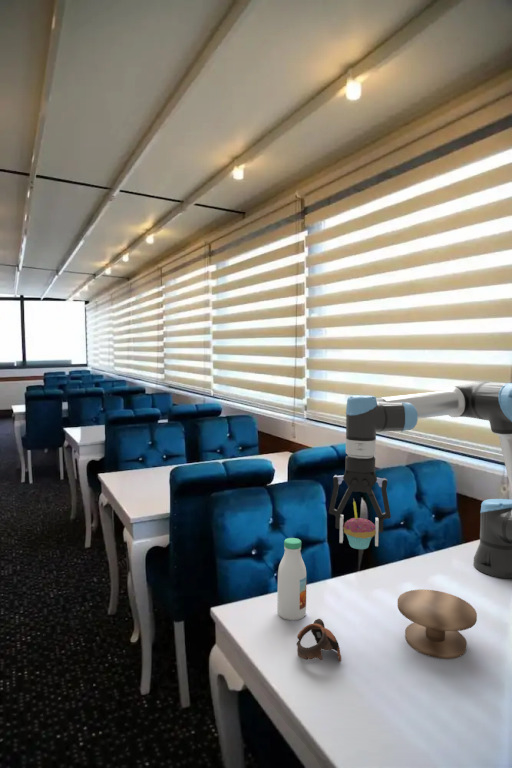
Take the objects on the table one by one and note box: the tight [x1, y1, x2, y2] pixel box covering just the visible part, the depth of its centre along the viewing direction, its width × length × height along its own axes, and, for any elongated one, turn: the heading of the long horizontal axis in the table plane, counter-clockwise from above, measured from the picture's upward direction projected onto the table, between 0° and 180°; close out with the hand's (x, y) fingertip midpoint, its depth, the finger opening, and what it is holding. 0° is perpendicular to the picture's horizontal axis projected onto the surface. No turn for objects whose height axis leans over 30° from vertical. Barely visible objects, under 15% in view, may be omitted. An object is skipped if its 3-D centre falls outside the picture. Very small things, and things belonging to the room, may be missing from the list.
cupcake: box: [343, 498, 376, 550], centre depth 124 cm, size 9×8×12 cm
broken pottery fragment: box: [296, 618, 342, 663], centre depth 111 cm, size 12×10×8 cm
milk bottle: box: [276, 537, 307, 621], centre depth 129 cm, size 8×8×20 cm
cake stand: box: [397, 588, 478, 660], centre depth 117 cm, size 18×18×9 cm
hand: (358, 542), depth 124 cm, fingers closed on cupcake, 8 cm apart
